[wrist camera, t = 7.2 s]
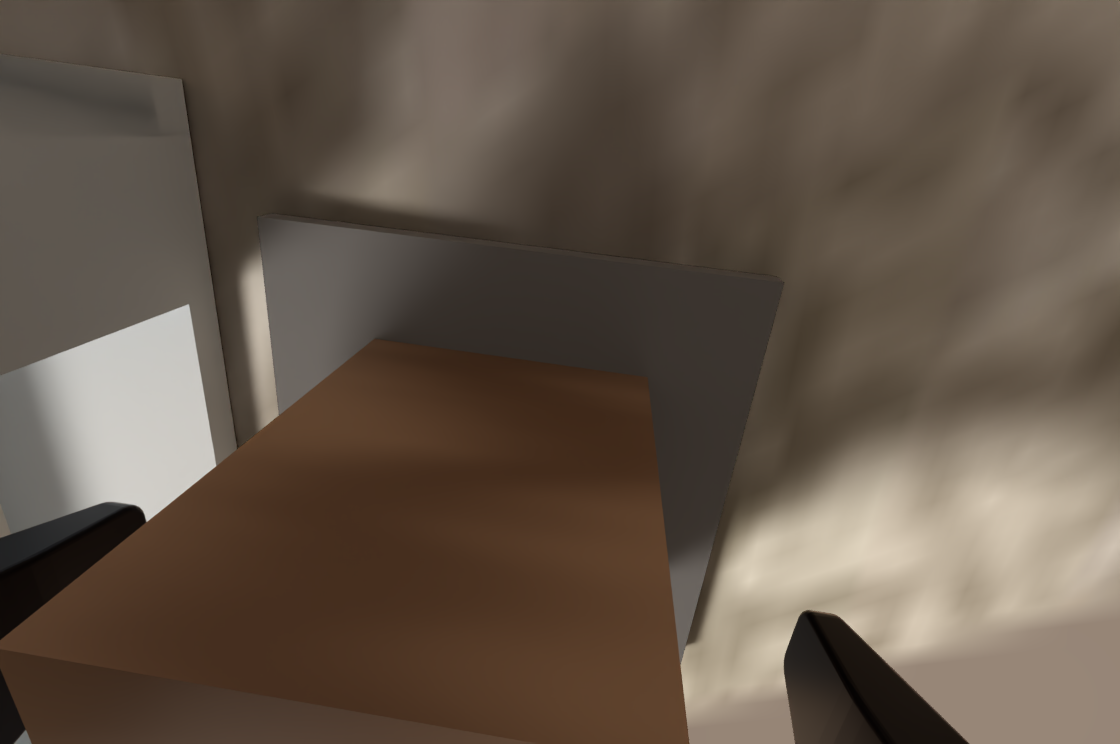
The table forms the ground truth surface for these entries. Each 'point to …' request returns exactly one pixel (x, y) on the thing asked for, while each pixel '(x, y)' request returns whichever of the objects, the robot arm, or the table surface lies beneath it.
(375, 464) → the walnut block
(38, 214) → the access box
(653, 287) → the rubber mat
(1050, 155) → the table surface
